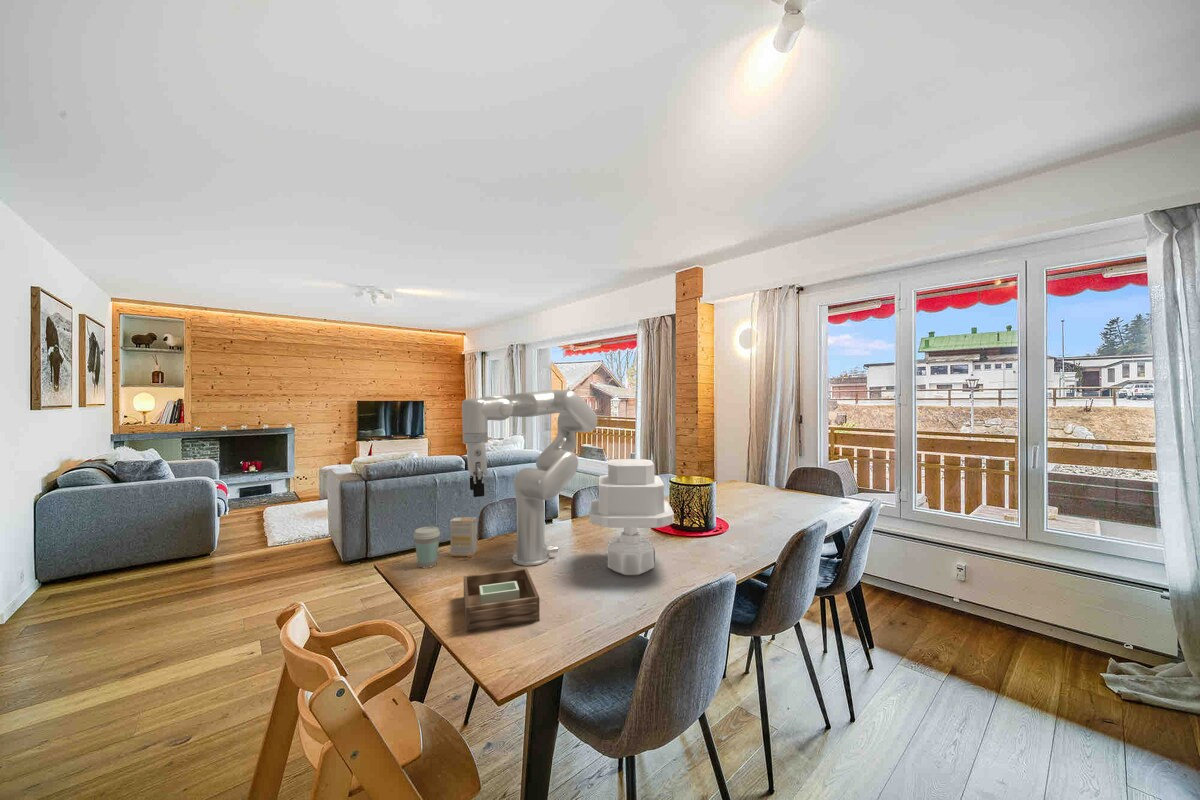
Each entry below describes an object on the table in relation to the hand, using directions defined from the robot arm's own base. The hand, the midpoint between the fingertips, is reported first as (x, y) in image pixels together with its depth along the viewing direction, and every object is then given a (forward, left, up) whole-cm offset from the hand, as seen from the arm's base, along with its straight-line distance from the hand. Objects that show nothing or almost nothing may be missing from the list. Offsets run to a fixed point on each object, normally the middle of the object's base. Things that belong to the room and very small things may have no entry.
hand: (477, 492), depth 143 cm
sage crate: (-4, +22, -26) cm, 35 cm away
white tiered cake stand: (-48, +7, -27) cm, 56 cm away
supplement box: (+4, -23, -27) cm, 35 cm away
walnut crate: (-4, +22, -27) cm, 35 cm away
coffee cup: (+16, -17, -27) cm, 35 cm away
